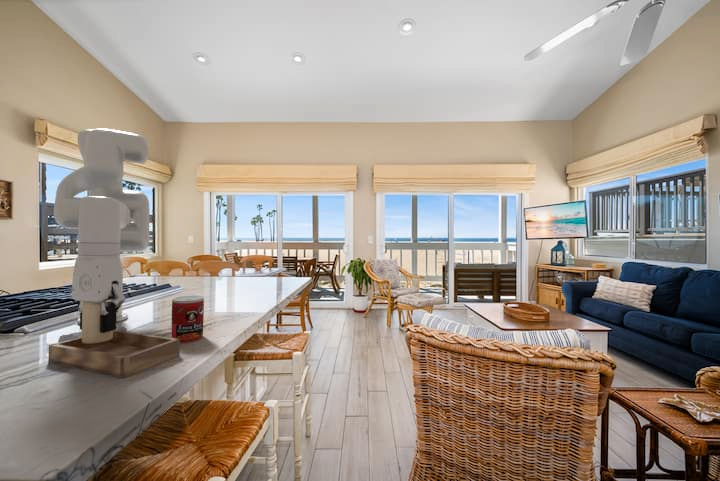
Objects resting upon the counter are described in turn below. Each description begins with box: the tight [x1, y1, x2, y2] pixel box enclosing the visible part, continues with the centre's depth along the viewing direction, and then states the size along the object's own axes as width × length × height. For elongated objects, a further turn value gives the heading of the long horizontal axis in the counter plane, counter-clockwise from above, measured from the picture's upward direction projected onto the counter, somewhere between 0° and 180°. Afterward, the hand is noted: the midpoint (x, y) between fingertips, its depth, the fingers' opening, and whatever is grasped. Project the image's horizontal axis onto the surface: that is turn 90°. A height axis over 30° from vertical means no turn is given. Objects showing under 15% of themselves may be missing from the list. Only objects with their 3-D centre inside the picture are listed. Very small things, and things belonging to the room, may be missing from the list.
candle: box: [81, 298, 113, 344], centre depth 73 cm, size 6×6×10 cm
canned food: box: [170, 295, 205, 344], centre depth 87 cm, size 8×8×11 cm
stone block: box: [57, 324, 128, 343], centre depth 82 cm, size 12×5×10 cm
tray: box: [48, 330, 181, 379], centre depth 71 cm, size 22×13×4 cm, turn 73°
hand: (98, 329), depth 73 cm, fingers closed on candle, 5 cm apart
